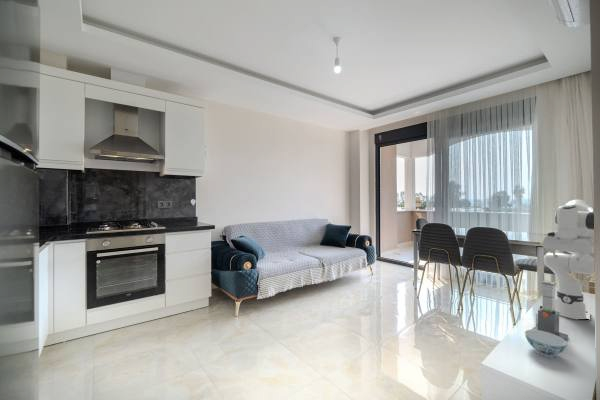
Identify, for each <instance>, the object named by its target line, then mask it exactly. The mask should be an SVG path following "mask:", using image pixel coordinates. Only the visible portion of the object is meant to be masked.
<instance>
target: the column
mask: <svg viewBox="0 0 600 400" xmlns="http://www.w3.org/2000/svg"><path fill="white" fill-rule="evenodd" d="M541 284H542V305H543V309H542V311H545V312H548V313H552V314H554V313H555V298H556V285H557V282H553V281H549V280H543V281H541Z"/></svg>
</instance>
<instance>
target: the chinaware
mask: <svg viewBox="0 0 600 400" xmlns="http://www.w3.org/2000/svg"><path fill="white" fill-rule="evenodd" d="M524 335H525V338H526V340H527V343H528V344H529V345H530V346H531V347H532V348H533V349H534V350H535V352H536V351H537V352H538V353H537V352H536V353H537V354H539V355H541V354H542V355H541V356H543V355H544V357H548V358H554V357H555V356H556V355H559V354H561V353H564V351H565V350H566V348H567V345H568V343H567V341H566V340H564V339H562V338H561V337H559V336H557V335H554V334H551V333H548V332H544V331H540V330H531V329H527V330H525V331H524Z"/></svg>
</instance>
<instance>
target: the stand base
mask: <svg viewBox="0 0 600 400" xmlns="http://www.w3.org/2000/svg"><path fill="white" fill-rule="evenodd" d="M542 309H543V308H541V309H540V308H539V309H538V310H537V312H538V325H537V324H536V325H535V326H534V327H532V328H531V329H530V330H540V331H544V332H548V333H551V334H554V335H557V336H559V337H561V338H562V339H564V340H565V341H566V340H568V338H569V334H567V333H563V332H561V331H560V315H559V312H557V311H555V313H554V314H552V313H548V312H545V311H542Z"/></svg>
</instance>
